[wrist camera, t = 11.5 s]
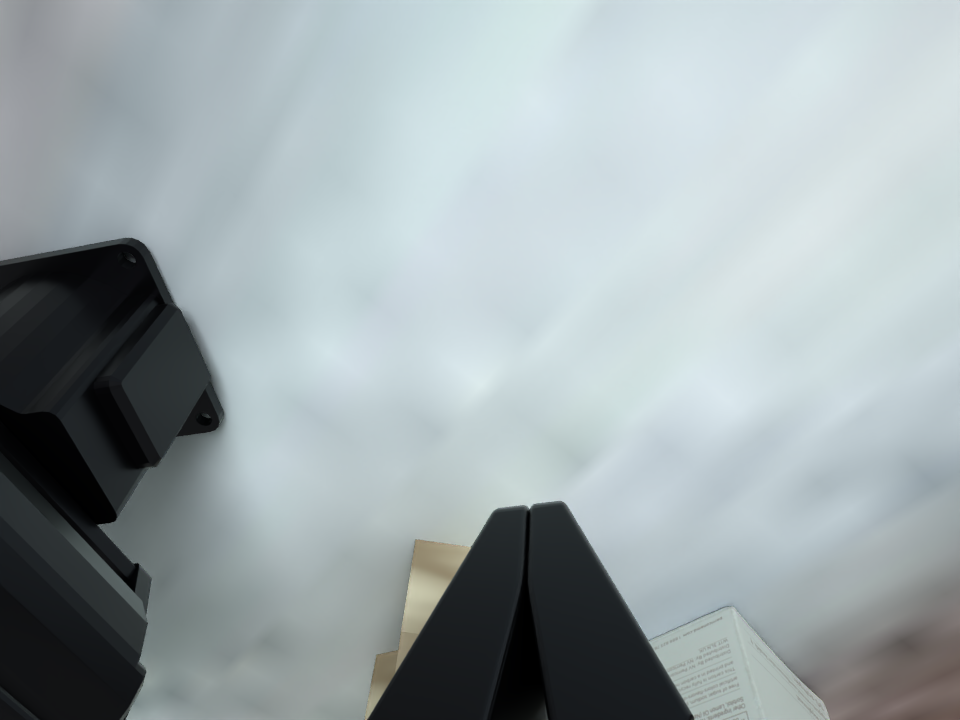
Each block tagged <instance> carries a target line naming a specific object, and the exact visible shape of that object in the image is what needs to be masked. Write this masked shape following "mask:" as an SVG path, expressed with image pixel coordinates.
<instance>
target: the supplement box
mask: <svg viewBox="0 0 960 720" xmlns="http://www.w3.org/2000/svg"><path fill="white" fill-rule="evenodd" d="M649 643H650V644H651V646H652V648H653V649H654V651H655V653H656V654H657V656H658V658H659V659H660V661H661V663H662V664H663V666H664V668H665V669H666V671H667V673H668V674H669V676H670V678H671V679H672V681H673V683H674V684H675V686H676V688H677V689H678V691H679V693H680V694H681V696H682V698H683V699H684V701H685V703H686V704H687V706H688V708H689V709H690V711H691V713H692V714H693V716H694V720H830V718H829V715H828V713H827V710H826V707H825V705H824V703H823V701H822V700H821V699H819V698H818V697H817V696H816V695H815V694H814V693H813V692H812V691H811V690H810V689H809V688H808V687H806V686H805V685H804V684H803V683H802V682H801V681H800V680H799V679H798V678H797V677H796V676H795V675H794V674H793V673H792V672H791V671H790V670H789V669H788V668H787V666H786V665H785V664H784V663H783V662H782V661H781V660H780V659H779V658H778V657H777V656H776V655H775V654H774V653H773V651H772V650H771V649H770V648H769V647H768V646H767V645H766V644H765V642H764V641H763V640H762V639H761V638H760V637H759V636H758V635H757V634H756V633H755V631H754V630H753V629H752V628H751V627H750V626H749V625H748V623H747V622H746V621H745V620H744V619H743V618H742V616H741V615H740V614H739V613H738V611H737V610H736V609H735V608H734V607H733V606H732V607H724V608H722V609H720V610H718V611H716V612H713V613H710V614H708V615H706V616H703V617H701V618H699V619H696V620H694V621H692V622H690V623H688V624H686V625H683V626H681V627H679V628H676V629H674V630H672V631H670V632H668V633H665V634H663V635H661V636H658V637H656V638H654V639H652V640H650V641H649Z"/></svg>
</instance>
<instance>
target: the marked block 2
mask: <svg viewBox="0 0 960 720" xmlns="http://www.w3.org/2000/svg"><path fill="white" fill-rule="evenodd" d="M470 549H471V547H466V546H459V545H452V544H444V543H437V542H430V541H423V540H416V541H415V547H414V553H413V559H412V566H411V572H410V578H409V584H408V591H407V597H406V603H405V609H404V615H403V622H402V628H401V634H400V642H399V649H398V656H397V663H396V670H395V673H396V671H397V669H398V668H399V666H400V664H401V663H402V661H403V660H404V658H405V656H406V655H407V653H408V651H409V650H410V648H411V646H412V645H413V643H414V641H415V640H416V638H417V636H418V635H419V633H420V631H421V630H422V628H423V626H424V625H425V623H426V621H427V620H428V618H429V616H430V615H431V613H432V612H433V610H434V608H435V607H436V605H437V603H438V602H439V600H440V598H441V597H442V595H443V593H444V592H445V590H446V588H447V587H448V585H449V583H450V582H451V580H452V578H453V577H454V575H455V573H456V572H457V570H458V568H459V567H460V565H461V563H462V562H463V560H464V559H465V557H466V555H467V554H468V552H469V550H470Z"/></svg>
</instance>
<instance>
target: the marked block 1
mask: <svg viewBox="0 0 960 720" xmlns="http://www.w3.org/2000/svg"><path fill="white" fill-rule="evenodd" d="M397 656H398V650H397V651H392V652H388V653H383V654H378V655H376V660H375V666H374V671H373V676H372V682H371V687H370V692H369V698H368V703H367V708H366V714H365V719H364V720H367V719H368V717H369V716H370V714H371V712H372V711H373V709H374V708H375V706H376V704H377V703H378V701H379V699H380V698H381V696H382V694H383V693H384V691H385V689H386V688H387V686H388V684H389V683H390V681H391V679H392V678H393V676H394V674H395V670H396V663H397Z"/></svg>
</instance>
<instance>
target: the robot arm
mask: <svg viewBox="0 0 960 720" xmlns="http://www.w3.org/2000/svg"><path fill="white" fill-rule="evenodd" d="M124 252H128V253H130V254H132V255H133V256H134V258H135V259H136V263H135V262H131V261H129V260H127V258H126V257H125V256H124ZM210 379H211V375H210V373H209V371H208V369H207V366H206V364H205V362H204V360H203V358H202V356H201V353H200V351H199V349H198V347H197V345H196V343H195V340H194V338H193V336H192V334H191V332H190V329H189V327H188V325H187V323H186V321H185V319H184V316H183V314H182V312H181V310H180V309H179V308H178V307H177V306H176V305H175V304H174V303H173V301H172V299H171V297H170V295H169V293H168V290H167V288H166V286H165V284H164V282H163V280H162V277H161V275H160V273H159V271H158V269H157V267H156V265H155V262H154V260H153V258H152V256H151V254H150V252H149V250H148V249H147V247H146V246H145V245H144V244H143V243H142V242H140V241H139V240H136V239H133V238H122V239H117V240H111V241H106V242H101V243H95V244H90V245H84V246H79V247H74V248H68V249H63V250H57V251H52V252H47V253H41V254H36V255H30V256H25V257H20V258H14V259H9V260H3V261H0V720H126V717H127V715H128V713H129V711H130V709H131V707H132V705H133V703H134V701H135V699H136V697H137V696H138V694H139V692H140V690H141V688H142V686H143V682H144V678H145V674H146V670H145V667H144V666H143V665H142V664H141V663H140V662H139V659H140V656H141V651H142V647H143V642H144V638H145V633H146V628H147V624H148V623H147V619H146V612H147V606H148V599H149V592H150V586H151V577H150V576H149V574H148V573H147V572H146V571H145V570H144V569H143V568H142V567H141V566H140V565H139V564H138V563H135V564H133V563H132V562H131V561H130V560H129V559H128V558H127V557H126V556H125V555H124V554H123V553H122V552H121V550H120V549H119V548H118V547H117V546H116V545H115V544H114V543H113V542H112V541H111V540H110V539H109V538H108V536H107V535H106V534H105V533H104V532H103V531H102V530H101V529H100V528H99V527H98V526H97V525H98V524H106V523H111V522H114V521H115V520H116V519H117V517H118V516H119V514H120V512H121V511H122V509H123V508H124V506H125V504H126V503H127V501H128V500H129V498H130V496H131V495H132V493H133V491H134V490H135V488H136V487H137V485H138V483H139V482H140V480H141V479H142V477H143V475H144V474H145V472H146V471H147V469H148V468H152V467H157V466H158V465H159V464H160V462H161V461H162V459H163V457H164V456H165V454H166V452H167V451H168V449H169V447H170V446H171V444H172V442H173V441H174V439H175V437H177V436H184V435H191V434H198V433H205V432H211V431H214V430H216V429H217V428H218V427H219V425H220V423H221V421H222V419H223V416H224V413H223V409H222V407H221V405H220V402H219V400H218V398H217V396H216V394H215V392H214V390H213V387H212V385H211V383H210ZM201 413H206V414H208V415H209V416H210V417H211V418H206V417H204V416H203V415H202V414H201ZM367 720H694V716H693V714H692V713H691V711H690V709H689V708H688V706H687V704H686V703H685V701H684V699H683V698H682V696H681V694H680V693H679V691H678V689H677V688H676V686H675V684H674V683H673V681H672V679H671V678H670V676H669V674H668V673H667V671H666V669H665V668H664V666H663V664H662V663H661V661H660V659H659V658H658V656H657V654H656V653H655V651H654V649H653V648H652V646H651V644H650V643H649V641H648V639H647V638H646V636H645V634H644V633H643V631H642V629H641V628H640V626H639V624H638V623H637V621H636V619H635V618H634V616H633V614H632V613H631V611H630V609H629V608H628V606H627V604H626V603H625V601H624V599H623V598H622V596H621V594H620V593H619V591H618V589H617V588H616V586H615V584H614V583H613V581H612V579H611V578H610V576H609V575H608V573H607V571H606V570H605V568H604V566H603V565H602V563H601V561H600V560H599V558H598V556H597V555H596V553H595V551H594V550H593V548H592V546H591V545H590V543H589V541H588V540H587V538H586V536H585V535H584V533H583V531H582V530H581V528H580V526H579V525H578V523H577V521H576V520H575V518H574V516H573V515H572V513H571V511H570V510H569V508H568V506H567V505H566V504H565V503H564V502H562V501H555V502H547V503H538V504H534V505H532V506H531V508H530V509H529V508H528V507H527V506H524V505H521V506H513V507H505V508H498V509H496V510H494V511H493V512H492V514H491V515H490V517H489V519H488V520H487V522H486V524H485V525H484V527H483V529H482V530H481V532H480V534H479V535H478V537H477V539H476V540H475V542H474V544H473V545H472V547H471V549H470V550H469V552H468V554H467V555H466V557H465V559H464V560H463V562H462V563H461V565H460V567H459V568H458V570H457V572H456V573H455V575H454V577H453V578H452V580H451V582H450V583H449V585H448V587H447V588H446V590H445V592H444V593H443V595H442V597H441V598H440V600H439V602H438V603H437V605H436V607H435V608H434V610H433V612H432V613H431V615H430V616H429V618H428V620H427V621H426V623H425V625H424V626H423V628H422V630H421V631H420V633H419V635H418V636H417V638H416V640H415V641H414V643H413V645H412V646H411V648H410V650H409V651H408V653H407V655H406V656H405V658H404V660H403V661H402V663H401V664H400V666H399V668H398V669H397V671H396V673H395V674H394V676H393V678H392V679H391V681H390V683H389V684H388V686H387V688H386V689H385V691H384V693H383V694H382V696H381V698H380V699H379V701H378V703H377V704H376V706H375V708H374V709H373V711H372V712H371V714H370V716H369V717H368V719H367Z"/></svg>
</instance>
